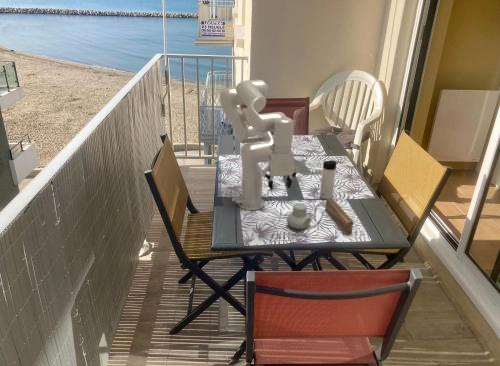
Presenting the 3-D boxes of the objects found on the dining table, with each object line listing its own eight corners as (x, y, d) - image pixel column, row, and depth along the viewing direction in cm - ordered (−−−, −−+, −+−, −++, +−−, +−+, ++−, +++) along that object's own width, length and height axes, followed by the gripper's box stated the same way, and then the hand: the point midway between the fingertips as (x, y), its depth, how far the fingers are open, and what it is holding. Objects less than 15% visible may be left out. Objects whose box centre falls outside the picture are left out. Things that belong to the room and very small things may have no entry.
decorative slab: (313, 160, 256) (313, 157, 255) (314, 176, 235) (315, 173, 234) (271, 158, 258) (271, 155, 258) (268, 173, 237) (268, 170, 236)
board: (345, 234, 179) (346, 222, 177) (325, 210, 199) (326, 198, 196) (351, 233, 180) (353, 221, 178) (331, 209, 199) (332, 198, 197)
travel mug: (323, 201, 207) (327, 164, 198) (317, 195, 212) (321, 159, 204) (334, 200, 208) (339, 163, 200) (328, 194, 214) (333, 158, 205)
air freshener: (297, 217, 191) (299, 198, 187) (312, 224, 187) (314, 204, 182) (283, 227, 184) (285, 207, 179) (299, 233, 179) (301, 213, 175)
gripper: (263, 152, 162) (262, 193, 169) (305, 150, 166) (302, 189, 173) (258, 146, 168) (257, 185, 176) (299, 143, 172) (296, 182, 180)
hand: (279, 187), depth 174 cm, fingers open, 7 cm apart
